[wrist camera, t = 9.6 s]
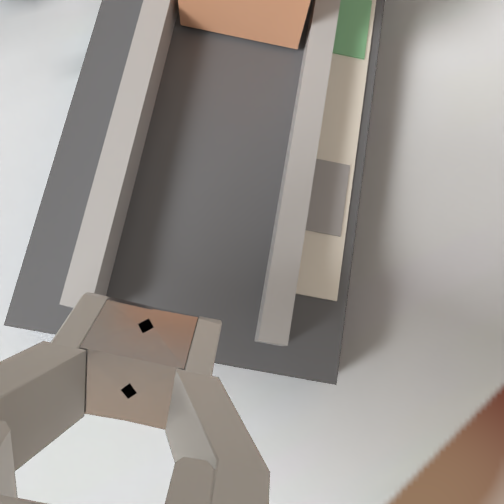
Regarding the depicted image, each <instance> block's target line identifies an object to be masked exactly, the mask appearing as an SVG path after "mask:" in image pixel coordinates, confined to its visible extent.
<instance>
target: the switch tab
mask: <svg viewBox="0 0 504 504" xmlns="http://www.w3.org/2000/svg"><path fill="white" fill-rule="evenodd" d="M310 1H311V0H178V5H179V14H180V24H181V25H182V26H187V27H192V28H197V29H201V30H206V31H211V32H216V33H221V34H225V35H230V36H235V37H240V38H245V39H249V40H254V41H259V42H264V43H269V44H273V45H278V46H283V47H288V48H293V49H298V45H299V42H300V38H301V34H302V31H303V27H304V23H305V19H306V16H307V12H308V8H309V5H310Z"/></svg>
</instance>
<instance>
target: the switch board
mask: <svg viewBox="0 0 504 504" xmlns="http://www.w3.org/2000/svg"><path fill="white" fill-rule="evenodd" d="M384 1H385V0H311V1H310V5H309V8H308V12H307V16H306V19H305V23H304V27H303V31H302V34H301V38H300V42H299V45H298V49H293V48H288V47H283V46H278V45H273V44H269V43H264V42H259V41H254V40H249V39H245V38H240V37H235V36H230V35H225V34H221V33H216V32H211V31H206V30H201V29H197V28H192V27H187V26H182V25H181V24H180V14H179V5H178V0H102V2H101V6H100V9H99V12H98V16H97V19H96V22H95V26H94V29H93V32H92V35H91V39H90V42H89V45H88V49H87V52H86V55H85V59H84V62H83V65H82V69H81V72H80V75H79V78H78V82H77V85H76V88H75V92H74V95H73V98H72V102H71V105H70V108H69V111H68V115H67V118H66V121H65V125H64V128H63V131H62V135H61V138H60V141H59V145H58V148H57V151H56V154H55V158H54V161H53V164H52V168H51V171H50V174H49V178H48V181H47V184H46V188H45V191H44V194H43V197H42V201H41V204H40V207H39V211H38V214H37V217H36V221H35V224H34V227H33V231H32V234H31V237H30V240H29V244H28V247H27V250H26V254H25V257H24V260H23V264H22V267H21V270H20V274H19V277H18V280H17V283H16V287H15V290H14V293H13V297H12V300H11V303H10V307H9V310H8V313H7V316H6V320H5V323H4V325H5V326H11V327H16V328H22V329H28V330H33V331H39V332H44V333H50V334H55V335H56V334H57V332H58V331H59V329H60V328H61V326H62V325H63V323H64V322H65V320H66V319H67V317H68V316H69V314H70V313H71V311H72V310H73V308H74V307H75V305H76V304H77V302H78V301H79V299H80V298H81V296H82V295H83V294H85V293H86V292H90V293H95V294H99V295H103V296H107V297H113V298H117V299H122V300H126V301H130V302H134V303H139V304H143V305H147V306H151V307H155V308H160V309H165V310H170V311H175V312H179V313H184V314H189V315H194V316H201V317H206V318H212V319H217V320H221V322H222V325H221V331H220V336H219V341H218V346H217V351H216V357H215V362H214V363H217V364H223V365H229V366H234V367H240V368H245V369H251V370H256V371H262V372H268V373H273V374H279V375H284V376H290V377H296V378H301V379H307V380H312V381H318V382H323V383H329V384H335V385H336V383H337V375H338V368H339V360H340V352H341V344H342V336H343V328H344V320H345V312H346V304H347V296H348V288H349V280H350V272H351V264H352V256H353V248H354V240H355V232H356V224H357V216H358V208H359V200H360V192H361V184H362V177H363V169H364V161H365V153H366V145H367V137H368V129H369V121H370V113H371V105H372V97H373V89H374V81H375V73H376V65H377V57H378V49H379V41H380V33H381V25H382V17H383V9H384ZM198 319H199V318H198Z"/></svg>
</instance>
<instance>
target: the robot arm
mask: <svg viewBox="0 0 504 504" xmlns="http://www.w3.org/2000/svg"><path fill="white" fill-rule="evenodd" d="M198 318H199V319H198ZM221 325H222V322H221V320H217V319H212V318H206V317H201V316H194V315H189V314H184V313H179V312H175V311H170V310H165V309H160V308H155V307H151V306H147V305H143V304H139V303H134V302H130V301H126V300H122V299H117V298H113V297H107V296H103V295H99V294H95V293H90V292H86V293H85V294H83V295H82V296H81V298H80V299H79V301H78V302H77V304H76V305H75V307H74V308H73V310H72V311H71V313H70V314H69V316H68V317H67V319H66V320H65V322H64V323H63V325H62V326H61V328H60V329H59V331H58V332H57V334H56V335H55V337H54V338H53V340H52V341H51V343H50V342H45V341H43V342H40V343H38V344H36V345H34V346H32V347H30V348H28V349H26V350H24V351H22V352H20V353H18V354H15V355H13V356H11V357H9V358H7V359H5V360H3V361H1V362H0V504H47V503H42V502H36V501H31V500H26V499H20V498H17V488H16V479H15V471H16V470H17V469H18V468H20V467H21V466H22V465H23V464H25V463H26V462H27V461H28V460H30V459H31V458H32V457H33V456H35V455H36V454H37V453H38V452H40V451H41V450H42V449H44V448H45V447H46V446H47V445H49V444H50V443H51V442H52V441H54V440H55V439H56V438H57V437H59V436H60V435H61V434H62V433H64V432H65V431H66V430H67V429H69V428H70V427H71V426H72V425H74V424H75V423H76V422H77V421H79V420H80V419H81V418H82V417H84V414H90V415H96V416H102V417H108V418H114V419H120V420H125V421H130V422H134V423H139V424H143V425H147V426H152V427H156V428H161V429H165V433H166V436H167V439H168V442H169V446H170V449H171V452H172V455H173V459H174V462H175V466H174V470H173V474H172V478H171V482H170V486H169V490H168V494H167V498H166V501H165V504H269V483H270V471H269V469H268V467H267V466H266V464H265V462H264V460H263V458H262V456H261V454H260V453H259V451H258V449H257V447H256V445H255V443H254V442H253V440H252V438H251V436H250V434H249V432H248V431H247V429H246V427H245V425H244V423H243V421H242V420H241V418H240V416H239V414H238V412H237V410H236V408H235V407H234V405H233V403H232V401H231V399H230V397H229V396H228V394H227V392H226V390H225V388H224V386H223V385H222V383H221V381H220V379H219V377H214V376H212V372H213V367H214V362H215V357H216V351H217V346H218V341H219V336H220V331H221Z"/></svg>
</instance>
